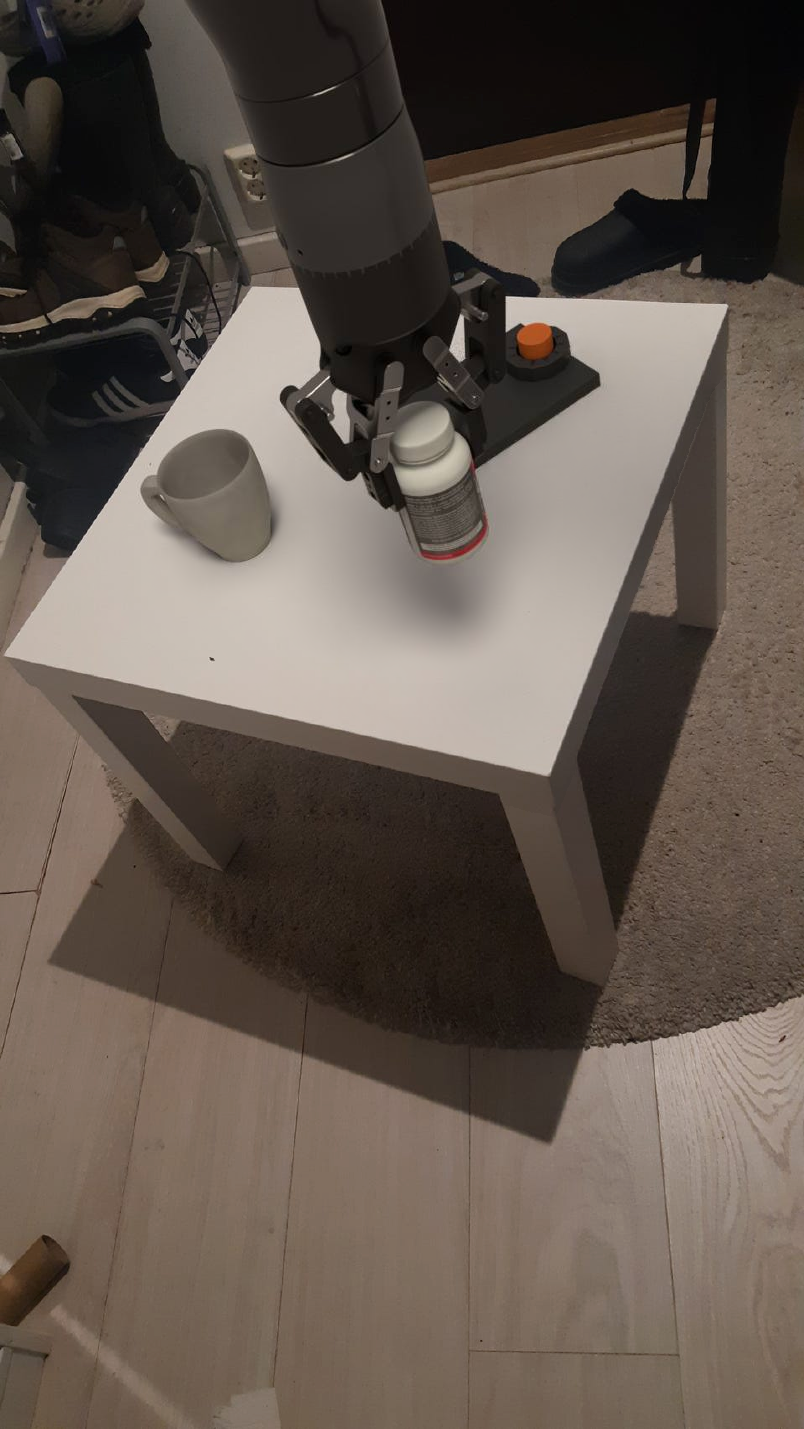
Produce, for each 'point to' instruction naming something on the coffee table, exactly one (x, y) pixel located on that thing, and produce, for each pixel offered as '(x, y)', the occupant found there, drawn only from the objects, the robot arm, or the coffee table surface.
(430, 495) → the pill bottle
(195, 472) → the mug
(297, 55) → the robot arm
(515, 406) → the scale
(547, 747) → the coffee table surface
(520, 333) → the button
